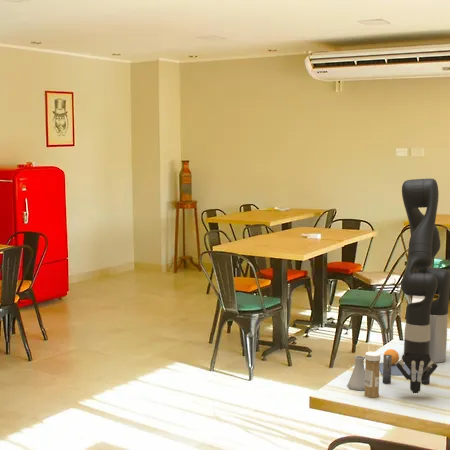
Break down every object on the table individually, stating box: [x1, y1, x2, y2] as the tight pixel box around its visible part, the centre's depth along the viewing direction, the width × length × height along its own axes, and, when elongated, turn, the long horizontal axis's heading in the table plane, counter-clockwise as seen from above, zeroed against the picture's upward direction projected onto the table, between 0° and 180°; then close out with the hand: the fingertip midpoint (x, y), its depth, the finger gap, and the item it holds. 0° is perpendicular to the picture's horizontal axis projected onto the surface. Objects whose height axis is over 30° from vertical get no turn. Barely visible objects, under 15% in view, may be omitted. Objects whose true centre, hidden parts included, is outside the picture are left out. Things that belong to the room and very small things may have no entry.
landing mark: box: [379, 362, 416, 377], centre depth 246 cm, size 13×13×1 cm
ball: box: [383, 348, 400, 365], centre depth 251 cm, size 5×5×5 cm
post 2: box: [421, 357, 431, 386], centre depth 231 cm, size 3×3×9 cm
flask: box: [346, 355, 365, 391], centre depth 227 cm, size 7×7×10 cm
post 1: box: [382, 354, 392, 385], centre depth 232 cm, size 3×3×9 cm
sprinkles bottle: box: [364, 351, 381, 398], centre depth 219 cm, size 5×5×13 cm
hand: (414, 392), depth 219 cm, fingers closed
